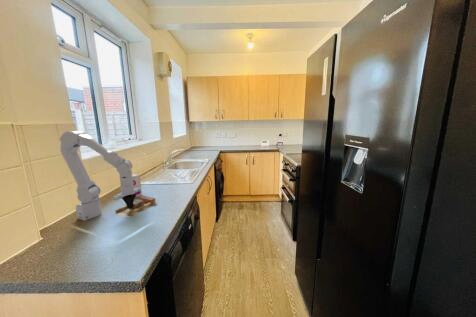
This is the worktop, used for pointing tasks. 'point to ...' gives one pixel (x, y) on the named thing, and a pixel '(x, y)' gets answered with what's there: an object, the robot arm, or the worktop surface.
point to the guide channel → (130, 212)
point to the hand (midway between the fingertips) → (130, 208)
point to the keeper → (137, 204)
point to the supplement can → (137, 184)
